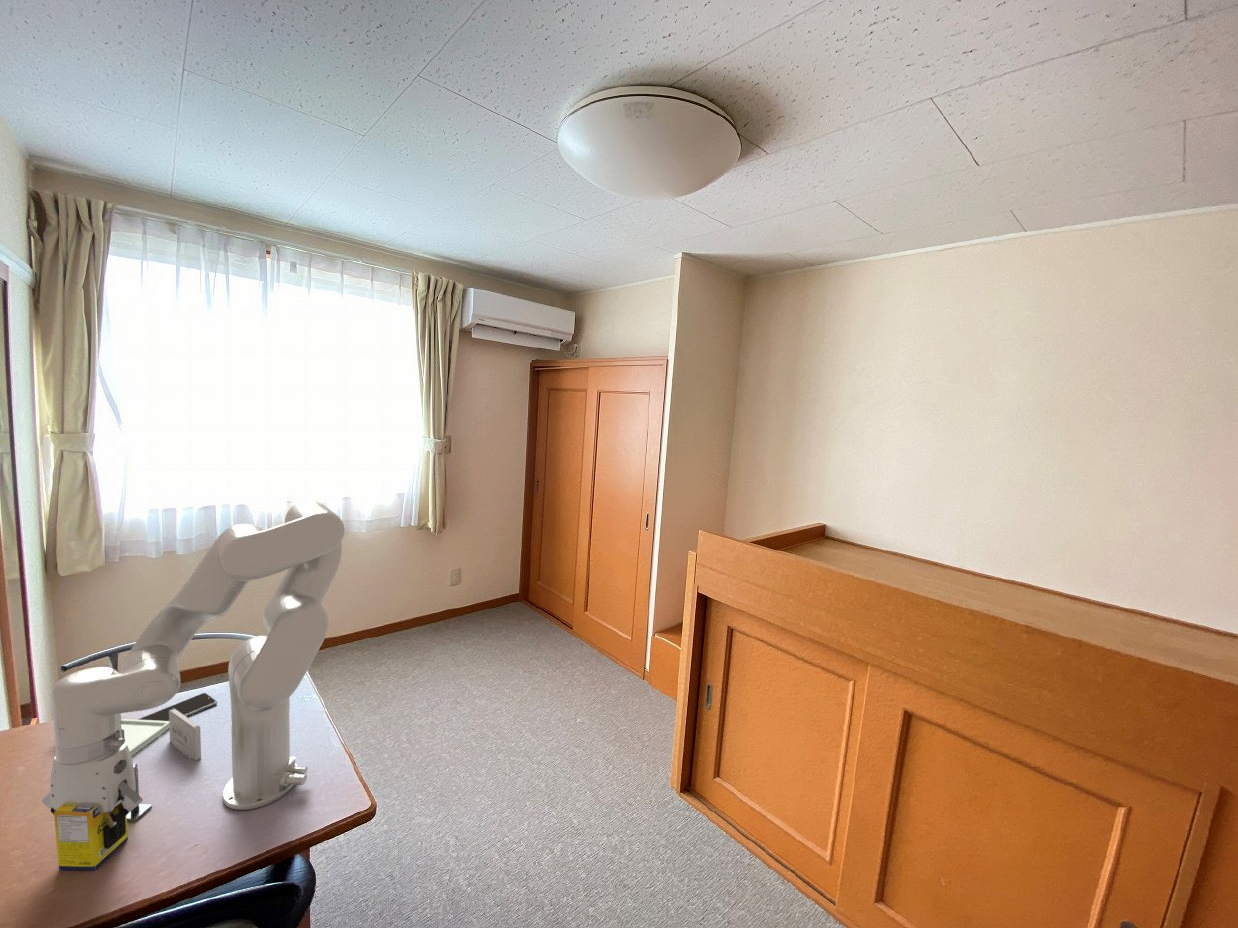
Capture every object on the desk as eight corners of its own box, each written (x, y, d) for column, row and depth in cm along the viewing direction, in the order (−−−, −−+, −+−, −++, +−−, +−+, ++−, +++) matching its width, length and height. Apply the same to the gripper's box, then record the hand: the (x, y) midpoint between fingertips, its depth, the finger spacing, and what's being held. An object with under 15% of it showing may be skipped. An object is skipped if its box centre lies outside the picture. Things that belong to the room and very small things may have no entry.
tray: (171, 726, 116) (171, 721, 116) (121, 763, 104) (121, 757, 104) (119, 723, 115) (119, 718, 115) (63, 760, 103) (62, 754, 103)
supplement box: (129, 839, 87) (126, 783, 86) (94, 871, 81) (91, 812, 80) (94, 838, 87) (90, 782, 86) (57, 870, 81) (52, 810, 80)
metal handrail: (154, 813, 93) (152, 767, 92) (104, 835, 88) (101, 787, 86) (135, 760, 105) (133, 718, 104) (90, 777, 100) (87, 733, 99)
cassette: (204, 757, 107) (203, 725, 106) (193, 762, 106) (192, 729, 105) (177, 737, 113) (176, 706, 112) (166, 742, 111) (165, 710, 110)
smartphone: (121, 725, 114) (205, 691, 128) (121, 729, 114) (205, 695, 128) (133, 737, 111) (218, 701, 125) (133, 741, 111) (218, 705, 125)
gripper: (162, 731, 86) (166, 824, 88) (61, 726, 85) (67, 819, 87) (120, 762, 78) (125, 862, 81) (9, 756, 78) (16, 858, 80)
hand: (95, 839), depth 84 cm, fingers closed on supplement box, 6 cm apart
